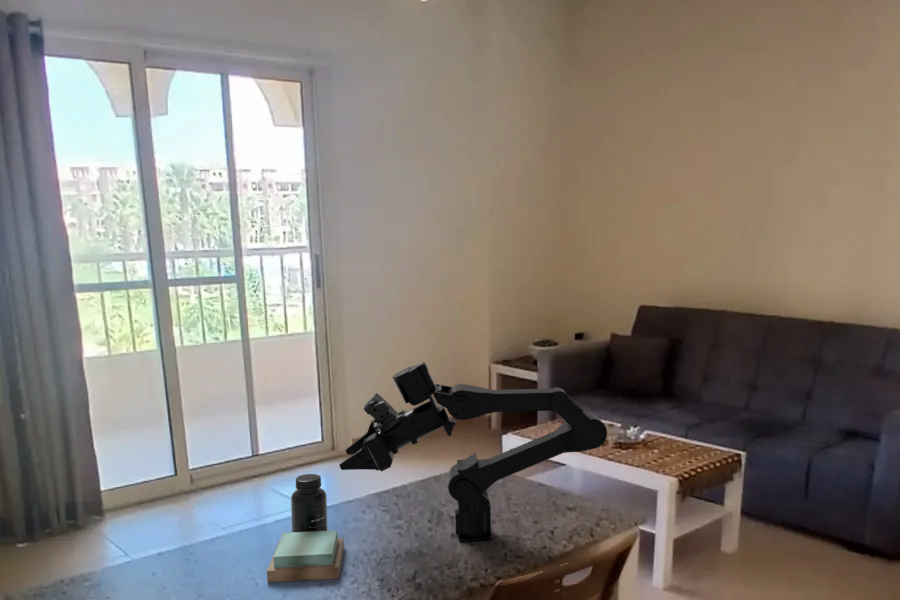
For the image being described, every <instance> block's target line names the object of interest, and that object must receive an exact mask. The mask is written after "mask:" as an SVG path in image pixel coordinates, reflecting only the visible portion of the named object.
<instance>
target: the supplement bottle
mask: <svg viewBox="0 0 900 600" xmlns="http://www.w3.org/2000/svg"><path fill="white" fill-rule="evenodd" d="M321 478H322V477H321V475H319V474H317V473H315V474H314V473H306V474H301V475H299V476H297V477H296V478H295V489H296V490H295V491H293V493H292V494H291V497H290V503H291V504H290V505H291V506H290V509H291V510H290V511H291V512H290V513H291V533H293V532H312V531H328V504H327V503H328V501H327V500H328V499H327V493H326V491H325V490H324V489H323V488H321V487H322V479H321Z"/></svg>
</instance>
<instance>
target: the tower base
mask: <svg viewBox="0 0 900 600" xmlns="http://www.w3.org/2000/svg"><path fill="white" fill-rule="evenodd" d="M344 541H345V540H344V537H338V529H336V530H334V529H333V530H327V531H312V532H293V533H292V532H282V534H281V537H280V539H279V541H278V542H277V545H276V548H275V550H274V552H273V554H272V558H271V559H270V562H269V565H268V567H267V570H266V578H267V579H266V581H267V582H266V583H280V582H281V583H282V582H283V583H284V582H295V581H296V582H299V581H314V580H315V581H317V580H333V579H334V580H335V579H336V580H337V579H339V578H340V572H341V567H342V561H343V555H344V550H345V543H344Z"/></svg>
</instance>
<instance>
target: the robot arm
mask: <svg viewBox="0 0 900 600" xmlns="http://www.w3.org/2000/svg"><path fill="white" fill-rule="evenodd" d="M392 379H393V382H394V384H395V386H396V388H397V389H398V391H399V393H400V395H401V397H402V398H403V401H404V403H405V404H410V405H411V406H415V407H414V408H412V409H409V410H407V411H406V410H404V409H401V410H399V411H397V410H396V409H394V407H393V406H392V405H391V404H390V403H389V402H388V401H387V400H385V399H384V397H382V396H381V395H380V394H379V393H375V394H374V395H373V396H372V397H371V398H370V399H369V400H368V401H367V402H366V403H365V404H364V407H363V411H364V412H365V413H366V414H367V415H369V416H371V417H372V418H373V420H372V419H371V421H370V424H369V427H368V430H367V431H366V432H365V433H364V434H363V435H362V436H361V437H359V438H358V439H356V440H355V441H354V442H353V443H352V444H351V445H349V446H348V447H347V448H346V449H345V452H346V455H350V456H349V457H347V458H346V459H345V460H343V461H342V462H340V463H339V468H340V469H341V470H342V471H346V470H347V471H351V470H353V471H354V470H357V471H358V470H361V471H362V470H365V471H366V470H369V471H370V470H374V471H375V470H376V471H378V472H379V471H380V472H384V471H386V470H388V469H390V468H391V467H392V464H393V461H394V457H395V456H394V455H395V454H396V455H397V454H398V453H399V450H400V449H401V448H404V447H406V446H408V445H410V444H412V445H413V446H414V445H416V444H418V443H419V442H418V441H419V440H420V439H423V438H424V437H427V436H428V435H430V434H433V433H434V432H436V431H439V430H441V429H442V428H443V429H444V431H445V433H446V435H447V436H448V437H452V434H453V430H454V427H456V423H457V422H456V420H459V421H465V420H469V419H470V420H471V419H475V418H480V417H483V416H486V415H488V414H493V413H506V412H507V413H510V412H511V413H512V412H513V413H514V412H517V413H519V412H553V411H554V412H555V413H557V414H558V415H559V417H561V418H562V419H563V420H564V422H562V424H561V425H560V426H559V427H557V428H556V429H555V430H554V431H552V432H549V433H547V434H545V435H542V436H540V437H537V438H535V439H532V440H530V441H528V442H526V443H523V444H521V445H517V446H516V447H514V448H511V449H509V450H505V451H504V452H502V453H499V454H496V455H494V456H492V457H490V458H481V459H479V458H478V455H477V453H473V454H470V455H469V456H467V457H466V458H463V459H457V460H456V464H454V465H452V466H451V467H450V470H449V471H448V475H447V488H448V489H447V490H448V493H449V496H450V497H452V499H453V500H455V501H456V508H455V509H454V513H453V515H454V533H455V535H456V536H457V538H458V541H459V542H474V541H475V542H476V541H489V540H490V541H492V540H494V539H493V538H494V536H493V533H492V510H491V509H492V508H491V506H492V505H491V503H490V502H491V500H490V495H489V488H490V487H492V486H493V485H494V484H495V483H496V482H498V481H500V480H502V479H505V478H507V477H510V476H512V475H515V474H516V473H520V472H521V471H524V470H526V469H529V468H531V467H534V466H536V465H538V464H541V463H543V462H545V461H547V460H550V459H552V458H555V457H558V456H560V455H562V454H567V453H582V452H586V451H589V450H596V449H598V448H600V447H602V446H603V445H605V442H606V440H607V437H608V430H607V427H606V425H605V424H604V422H603V421H602V420H601V419H600V417H598V416H597V414H595V413H594V412H592V411H588V410H583V409H582V407H581V406H580V405H579V404H577V403H576V402H575V401H574V400H573V398H571V397H569V395H568V394H567V392H565V390H564V389H562V388H561V387H557V386H555V387H551V388H524V389H520V388H519V389H491V388H486V387H482V386H478V385H471V384H465V383H458V384H455V385H453V386H449V385H444V384H440V383H439V384H438V383H435V381H434V380H433V378H432V376H431V374H430V372H429V368H428V365H427V364H426V362H424V361H423V362H421V363H418V364H415V365H412V366H408V367H405V368H403V369H402V370H400V371H398V372H397V373H395V374H394V375H393V376H392ZM427 400H428V401H427ZM425 401H426V402H425ZM439 405H440V406H439ZM446 410H447V411H446ZM448 414H449V415H450V416H451V417H452V418H453V419H452V418H450V417H449V415H448Z"/></svg>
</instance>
